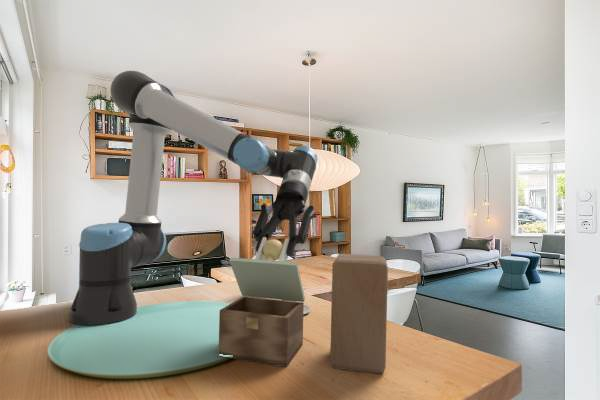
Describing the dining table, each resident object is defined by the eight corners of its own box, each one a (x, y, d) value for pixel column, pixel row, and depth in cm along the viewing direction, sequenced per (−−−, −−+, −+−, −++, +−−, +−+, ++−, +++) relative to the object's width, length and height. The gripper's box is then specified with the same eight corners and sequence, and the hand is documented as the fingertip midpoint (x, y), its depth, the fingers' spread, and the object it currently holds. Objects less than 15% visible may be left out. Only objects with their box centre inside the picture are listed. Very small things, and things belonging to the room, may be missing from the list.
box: (217, 356, 70) (219, 310, 70) (242, 336, 80) (243, 296, 80) (286, 367, 66) (287, 318, 66) (302, 344, 77) (303, 302, 77)
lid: (229, 260, 74) (244, 232, 80) (242, 295, 80) (254, 266, 87) (296, 265, 70) (305, 235, 77) (304, 302, 76) (312, 271, 83)
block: (385, 376, 64) (388, 263, 64) (329, 369, 66) (332, 260, 66) (383, 353, 73) (386, 255, 73) (335, 348, 75) (337, 252, 75)
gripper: (258, 179, 92) (226, 251, 76) (325, 180, 87) (306, 257, 71) (265, 200, 97) (236, 272, 81) (329, 202, 92) (312, 278, 76)
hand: (269, 265), depth 76 cm, fingers closed on lid, 5 cm apart
